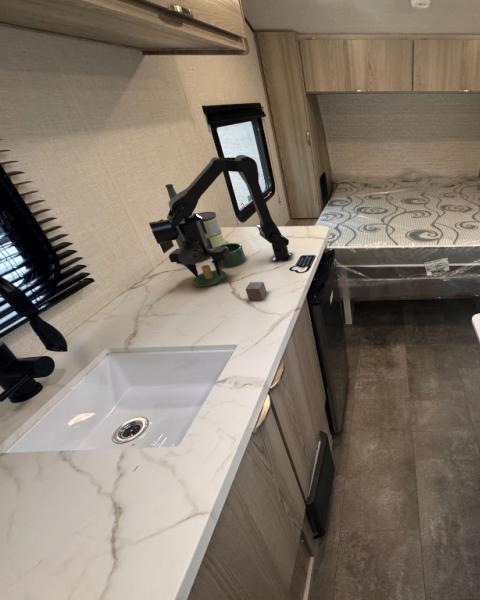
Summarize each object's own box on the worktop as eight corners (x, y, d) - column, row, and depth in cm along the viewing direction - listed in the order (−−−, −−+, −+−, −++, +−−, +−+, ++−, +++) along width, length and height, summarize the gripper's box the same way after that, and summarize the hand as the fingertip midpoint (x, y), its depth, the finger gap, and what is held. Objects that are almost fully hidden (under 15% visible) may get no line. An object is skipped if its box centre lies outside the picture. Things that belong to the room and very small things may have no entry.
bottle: (180, 263, 132) (146, 188, 115) (191, 253, 140) (161, 181, 124) (206, 262, 132) (176, 187, 116) (216, 252, 141) (189, 180, 124)
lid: (202, 273, 124) (197, 260, 121) (231, 272, 125) (227, 259, 121) (187, 288, 115) (181, 274, 112) (219, 287, 115) (213, 273, 112)
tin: (224, 256, 137) (220, 243, 133) (249, 255, 137) (245, 242, 133) (213, 268, 128) (208, 254, 125) (240, 267, 128) (235, 253, 125)
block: (253, 293, 111) (250, 282, 108) (267, 292, 111) (263, 281, 109) (249, 300, 107) (245, 289, 105) (262, 300, 107) (259, 288, 105)
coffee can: (200, 252, 141) (188, 221, 133) (201, 244, 148) (189, 214, 141) (226, 247, 144) (215, 216, 136) (226, 239, 152) (215, 210, 144)
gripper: (150, 246, 103) (170, 288, 112) (208, 244, 103) (224, 285, 112) (169, 233, 113) (187, 272, 121) (223, 231, 113) (237, 270, 121)
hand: (208, 275), depth 119 cm, fingers open, 8 cm apart
